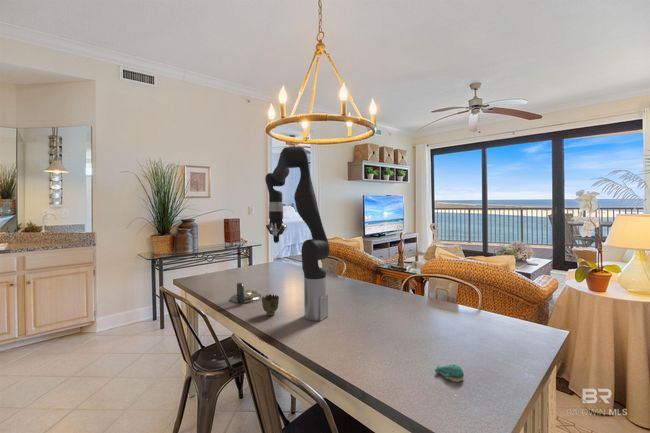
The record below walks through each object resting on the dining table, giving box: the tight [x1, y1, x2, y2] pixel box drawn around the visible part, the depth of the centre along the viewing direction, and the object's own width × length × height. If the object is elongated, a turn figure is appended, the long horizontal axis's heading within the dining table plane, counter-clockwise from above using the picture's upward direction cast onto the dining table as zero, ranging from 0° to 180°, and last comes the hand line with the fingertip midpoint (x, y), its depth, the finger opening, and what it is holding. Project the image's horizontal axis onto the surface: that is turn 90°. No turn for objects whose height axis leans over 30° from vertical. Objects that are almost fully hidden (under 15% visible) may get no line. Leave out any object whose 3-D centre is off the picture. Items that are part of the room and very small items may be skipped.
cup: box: [261, 293, 280, 317], centre depth 134 cm, size 8×7×8 cm
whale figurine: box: [434, 363, 465, 383], centre depth 86 cm, size 6×7×4 cm
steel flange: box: [230, 290, 262, 304], centre depth 157 cm, size 15×15×3 cm
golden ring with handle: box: [233, 282, 259, 304], centre depth 153 cm, size 17×12×9 cm
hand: (276, 242), depth 167 cm, fingers closed
